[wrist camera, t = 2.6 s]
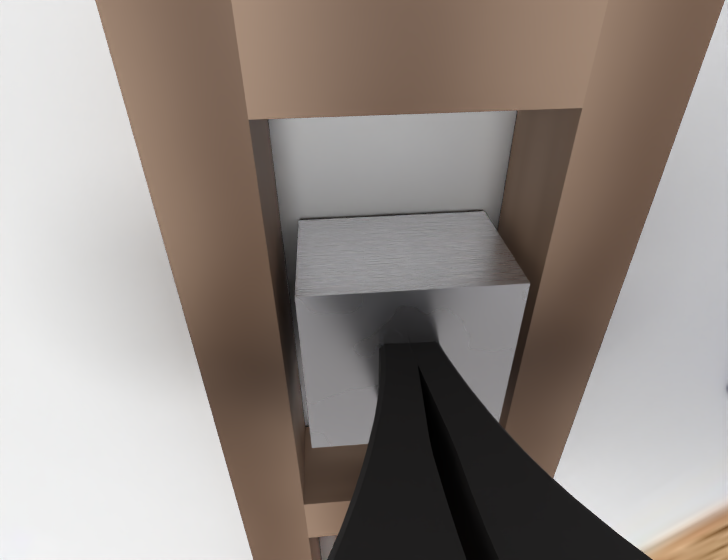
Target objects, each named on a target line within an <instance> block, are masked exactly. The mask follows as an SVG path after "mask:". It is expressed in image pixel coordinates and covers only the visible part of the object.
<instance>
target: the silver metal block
mask: <svg viewBox="0 0 728 560" xmlns="http://www.w3.org/2000/svg"><path fill="white" fill-rule="evenodd" d="M529 287H530V282H529V280H528V279H527V277H526V276H525V274H524V273H523V271H522V269H521V268H520V266H519V265H518V263H517V262H516V260H515V258H514V257H513V255H512V254H511V252H510V250H509V249H508V247H507V246H506V244H505V243H504V241H503V239H502V238H501V236H500V235H499V233H498V232H497V230H496V228H495V227H494V225H493V224H492V222H491V221H490V219H489V217H488V216H487V214H486V213H485V211H480V212H459V213H439V214H418V215H398V216H377V217H356V218H336V219H315V220H299V227H298V245H297V264H296V283H295V304H296V313H297V322H298V330H299V339H300V348H301V357H302V365H303V374H304V383H305V392H306V401H307V409H308V418H309V427H310V436H311V444H312V448H319V447H332V446H345V445H358V444H368V442H369V438H370V434H371V430H372V426H373V422H374V417H375V411H376V405H377V399H378V391H379V348H380V347H381V346H383V345H384V344H400V343H415V342H429V341H436V342H437V343H438V344H440V346H441V347H442V349H443V350H444V352H445V354H446V355H447V357H448V358H449V359H450V361H451V362H452V364H453V365H454V367H455V368H456V369H457V371H458V372H459V374H460V375H461V376H462V378H463V379H464V380H465V382H466V383H467V384H468V386H469V387H470V388H471V390H472V391H473V392H474V393H475V395H476V396H477V397H478V398H479V400H480V401H481V402H482V403H483V405H484V406H485V407H486V408H487V409H488V411H489V412H490V413H491V414H492V415H493V417H494V418H495V419H496V420H497V421H498V422H499V420H500V415H501V411H502V407H503V402H504V398H505V393H506V389H507V385H508V380H509V376H510V371H511V367H512V362H513V358H514V354H515V349H516V345H517V340H518V336H519V331H520V327H521V323H522V318H523V314H524V309H525V305H526V301H527V296H528V292H529Z"/></svg>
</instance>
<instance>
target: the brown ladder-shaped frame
mask: <svg viewBox="0 0 728 560" xmlns="http://www.w3.org/2000/svg"><path fill="white" fill-rule="evenodd" d="M95 1H96V4H97V8H98V11H99V15H100V18H101V22H102V26H103V29H104V33H105V36H106V40H107V43H108V47H109V50H110V54H111V57H112V61H113V64H114V68H115V72H116V75H117V79H118V82H119V86H120V89H121V93H122V96H123V100H124V103H125V107H126V110H127V114H128V118H129V121H130V125H131V128H132V132H133V135H134V139H135V142H136V146H137V149H138V153H139V156H140V160H141V164H142V167H143V171H144V174H145V178H146V181H147V185H148V188H149V192H150V195H151V199H152V202H153V206H154V209H155V213H156V217H157V220H158V224H159V227H160V231H161V234H162V238H163V241H164V245H165V248H166V252H167V255H168V259H169V263H170V266H171V270H172V273H173V277H174V280H175V284H176V287H177V291H178V294H179V298H180V301H181V305H182V309H183V312H184V316H185V319H186V323H187V326H188V330H189V333H190V337H191V340H192V344H193V347H194V351H195V355H196V358H197V362H198V365H199V369H200V372H201V376H202V379H203V383H204V386H205V390H206V393H207V397H208V401H209V404H210V408H211V411H212V415H213V418H214V422H215V425H216V429H217V432H218V436H219V439H220V443H221V446H222V450H223V454H224V457H225V461H226V464H227V468H228V471H229V475H230V478H231V482H232V485H233V489H234V492H235V496H236V500H237V503H238V507H239V510H240V514H241V517H242V521H243V524H244V528H245V531H246V535H247V538H248V542H249V546H250V549H251V553H252V556H253V560H321V552H320V544H319V537H323V536H334V535H338V533H339V531H340V528H341V526H342V523H343V521H344V518H345V515H346V512H347V510H348V507H349V504H350V501H351V499H352V496H353V493H354V490H355V487H356V484H357V481H358V478H359V475H360V471H361V468H362V465H363V461H364V458H365V454H366V451H367V447H368V444H358V445H345V446H332V447H319V448H312V444H311V436H310V427H305V421H304V412H303V404H302V396H301V388H300V379H299V371H298V363H297V355H296V346H295V338H294V330H293V322H292V314H291V305H290V297H289V289H288V281H287V272H286V264H285V256H284V248H283V239H282V231H281V223H280V215H279V207H278V198H277V190H276V182H275V174H274V165H273V157H272V149H271V141H270V132H269V124H268V119H283V118H311V117H340V116H368V115H397V114H425V113H454V112H482V111H511V110H518V111H517V117H516V123H515V129H514V135H513V141H512V147H511V153H510V159H509V165H508V171H507V177H506V183H505V189H504V195H503V201H502V207H501V213H500V219H499V225H498V231H497V232H498V233H499V235H500V236H501V238H502V239H503V241H504V243H505V244H506V246H507V247H508V249H509V250H510V252H511V254H512V255H513V257H514V258H515V260H516V262H517V263H518V265H519V266H520V268H521V269H522V271H523V273H524V274H525V276H526V277H527V279H528V280H529V282H530V287H529V292H528V296H527V301H526V305H525V309H524V314H523V318H522V323H521V327H520V331H519V336H518V340H517V345H516V349H515V354H514V358H513V362H512V367H511V371H510V376H509V380H508V385H507V389H506V393H505V398H504V402H503V407H502V411H501V415H500V420H499V424H500V425H501V426H502V427H503V428H504V429H505V430H506V431H507V433H508V434H509V435H510V436H511V437H512V438H513V439H514V440H515V441H516V442H517V443H518V444H519V446H520V447H521V448H522V449H523V450H524V451H525V452H526V453H527V454H528V455H529V456H530V457H531V458H532V459H533V460H534V461H535V462H536V463H537V464H538V465H539V466H540V467H541V468H542V469H543V470H544V471H546V472H547V473H548V474H549V475H550V476H551V477H552V478H553V477H554V474H555V472H556V469H557V466H558V463H559V460H560V458H561V455H562V452H563V449H564V446H565V444H566V441H567V438H568V435H569V433H570V430H571V427H572V424H573V421H574V419H575V416H576V413H577V410H578V408H579V405H580V402H581V399H582V396H583V394H584V391H585V388H586V385H587V382H588V380H589V377H590V374H591V371H592V369H593V366H594V363H595V360H596V357H597V355H598V352H599V349H600V346H601V343H602V341H603V338H604V335H605V332H606V330H607V327H608V324H609V321H610V318H611V316H612V313H613V310H614V307H615V304H616V302H617V299H618V296H619V293H620V291H621V288H622V285H623V282H624V279H625V277H626V274H627V271H628V268H629V265H630V263H631V260H632V257H633V254H634V252H635V249H636V246H637V243H638V240H639V238H640V235H641V232H642V229H643V227H644V224H645V221H646V218H647V215H648V213H649V210H650V207H651V204H652V201H653V199H654V196H655V193H656V190H657V188H658V185H659V182H660V179H661V176H662V174H663V171H664V168H665V165H666V162H667V160H668V157H669V154H670V151H671V149H672V146H673V143H674V140H675V137H676V135H677V132H678V129H679V126H680V123H681V121H682V118H683V115H684V112H685V110H686V107H687V104H688V101H689V98H690V96H691V93H692V90H693V87H694V84H695V82H696V79H697V76H698V73H699V71H700V68H701V65H702V62H703V59H704V57H705V54H706V51H707V48H708V46H709V43H710V40H711V37H712V34H713V32H714V29H715V26H716V23H717V20H718V18H719V15H720V12H721V9H722V7H723V4H724V1H725V0H95Z"/></svg>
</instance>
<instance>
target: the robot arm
mask: <svg viewBox="0 0 728 560" xmlns="http://www.w3.org/2000/svg"><path fill="white" fill-rule="evenodd" d="M327 560H652V559H651V558H650V557H648V556H647V555H646V554H644V553H643V552H642V551H640V550H639V549H638V548H636V547H635V546H634V545H632V544H631V543H630V542H628V541H627V540H626V539H624V538H623V537H622V536H620V535H619V534H618V533H617V532H615V531H614V530H613V529H612V528H610V527H609V526H608V525H607V524H606V523H604V522H603V521H602V520H601V519H599V518H598V517H597V516H596V515H595V514H593V513H592V512H591V511H590V510H589V509H587V508H586V507H585V506H584V505H582V504H581V503H580V502H579V501H578V500H576V499H575V498H574V497H573V496H572V495H571V494H569V493H568V492H567V491H566V490H565V489H564V488H563V487H562V486H561V485H560V484H558V483H557V482H556V481H555V480H554V479H553V478H552V477H551V476H550V475H549V474H548V473H547V472H546V471H544V470H543V469H542V468H541V467H540V466H539V465H538V464H537V463H536V462H535V461H534V460H533V459H532V458H531V457H530V456H529V455H528V454H527V453H526V452H525V451H524V450H523V449H522V448H521V447H520V446H519V444H518V443H517V442H516V441H515V440H514V439H513V438H512V437H511V436H510V435H509V434H508V433H507V431H506V430H505V429H504V428H503V427H502V426H501V425H500V424H499V422H498V421H497V420H496V419H495V418H494V417H493V415H492V414H491V413H490V412H489V411H488V409H487V408H486V407H485V406H484V405H483V403H482V402H481V401H480V400H479V398H478V397H477V396H476V395H475V393H474V392H473V391H472V390H471V388H470V387H469V386H468V384H467V383H466V382H465V380H464V379H463V378H462V376H461V375H460V374H459V372H458V371H457V369H456V368H455V367H454V365H453V364H452V362H451V361H450V359H449V358H448V357H447V355H446V354H445V352H444V350H443V349H442V347H441V346H440V344H438V343H437V342H436V341H429V342H415V343H400V344H384V345H383V346H381V347H380V348H379V391H378V399H377V405H376V411H375V417H374V422H373V426H372V430H371V434H370V438H369V442H368V447H367V451H366V454H365V458H364V461H363V465H362V468H361V471H360V475H359V478H358V481H357V484H356V487H355V490H354V493H353V496H352V499H351V501H350V504H349V507H348V510H347V512H346V515H345V518H344V521H343V523H342V526H341V528H340V531H339V533H338V536H337V538H336V541H335V543H334V545H333V548H332V550H331V552H330V555H329V557H328V559H327Z"/></svg>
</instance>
